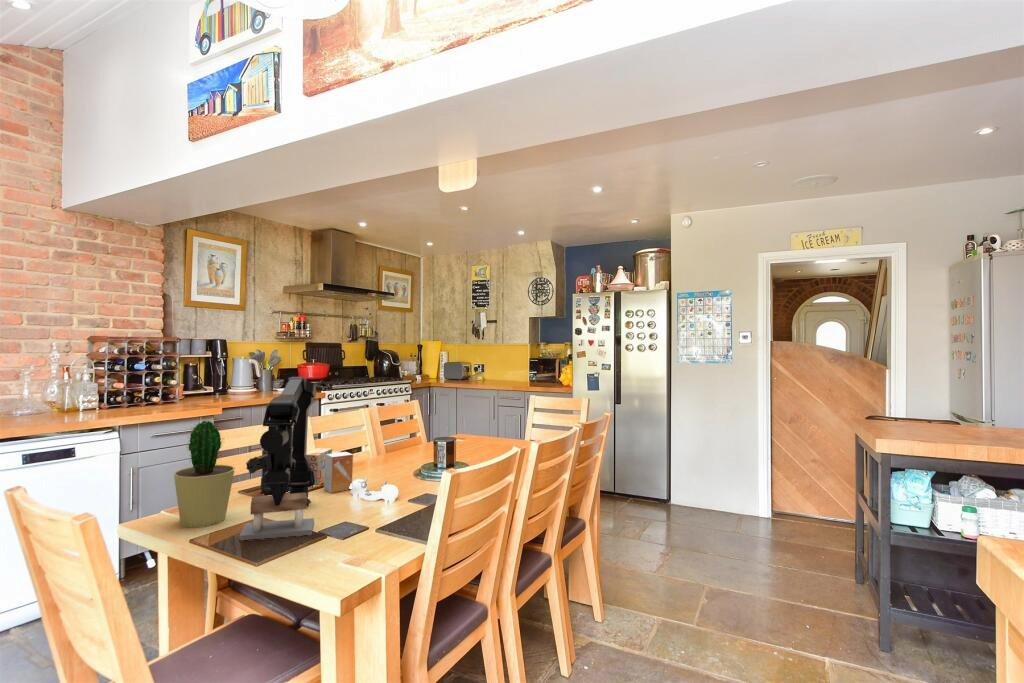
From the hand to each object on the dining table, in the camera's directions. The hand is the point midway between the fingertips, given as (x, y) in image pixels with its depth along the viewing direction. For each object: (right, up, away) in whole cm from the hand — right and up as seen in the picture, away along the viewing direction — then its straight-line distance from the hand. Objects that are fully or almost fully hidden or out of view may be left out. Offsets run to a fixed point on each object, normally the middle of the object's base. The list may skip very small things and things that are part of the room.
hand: (279, 500), depth 141 cm
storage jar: (-19, -9, +38) cm, 43 cm away
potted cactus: (-26, -8, +7) cm, 28 cm away
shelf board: (0, -2, 0) cm, 2 cm away
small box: (+2, -10, +42) cm, 44 cm away
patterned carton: (-9, -10, +56) cm, 57 cm away
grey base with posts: (0, -9, 0) cm, 9 cm away
